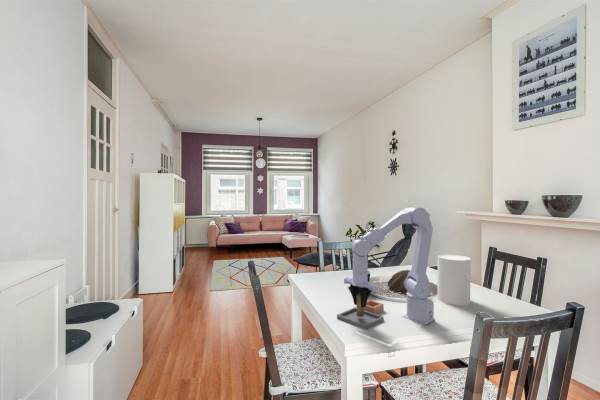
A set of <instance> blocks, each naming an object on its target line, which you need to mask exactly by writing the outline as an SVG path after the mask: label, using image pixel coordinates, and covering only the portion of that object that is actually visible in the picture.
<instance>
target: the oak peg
mask: <svg viewBox="0 0 600 400" xmlns="http://www.w3.org/2000/svg"><path fill="white" fill-rule="evenodd" d="M355 307H356V315H357V316H359V317H363V316H364V307H361V296H360V294H357V295H356V305H355Z"/></svg>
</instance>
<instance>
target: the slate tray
mask: <svg viewBox="0 0 600 400" xmlns="http://www.w3.org/2000/svg"><path fill="white" fill-rule="evenodd" d="M336 318H337V319H338V320H341V321H343V322H346V323H348V324H350V325H353V326H356V327H358V328H360V329H362V330H368V329H370V328H372V327H375V325H377V324H379V323H382V322H383V321H384V319H385V318H384V316H382V315H380V314H378V313H377V314H374V313H371V312H368V311H365V310H364V316H363V317H359V316H357V315H356V306H355V307H352V308H350V309H348V310H345V311H342V312H341V313H338V314H337V315H336Z"/></svg>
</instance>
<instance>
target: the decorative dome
mask: <svg viewBox="0 0 600 400" xmlns="http://www.w3.org/2000/svg"><path fill="white" fill-rule="evenodd" d="M410 271H411V269H405V270H404V269H402V270H400V271H397V272H396V273H394V274H393V275H392V276H391V278H390V279H388V282H387V287H389V288H388V290H389V289H390V290H389V291H393V290H394V291H393V292H395V291H396V292H401V293H400V294H404V293H407V289H406V288H405V286H404V282H405V280H406V278H407V276H408V273H409V272H410ZM396 292H395V293H396Z"/></svg>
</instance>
